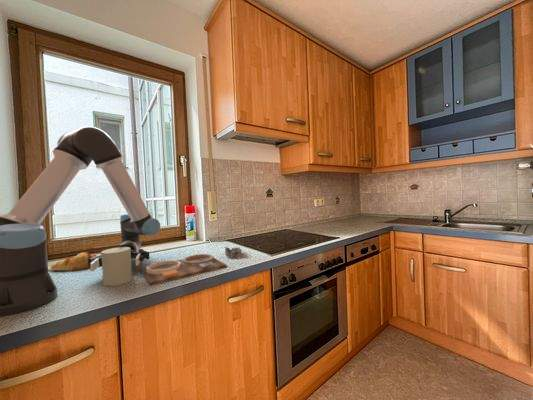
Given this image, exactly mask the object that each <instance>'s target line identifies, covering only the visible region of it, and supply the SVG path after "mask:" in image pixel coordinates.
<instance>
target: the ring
mask: <svg viewBox="0 0 533 400" xmlns="http://www.w3.org/2000/svg"><path fill="white" fill-rule="evenodd" d="M167 264H175V265H176V266H174V267H171V268H167V269H159V270H154V269H151V268H154V267H156V266H160V265H167ZM146 266H147V267H146V272H147V273H149V274H162V276H163V277H164V278H167V277H171V276H176V275H178V271H177V270H178V269H179V268H180V267H181V262H180V261H176V260H174V259H172V260H171V259H167V260H162V261H161V260H160V261H157V262H153V263H151V264H150V263H149V264H148V265H146Z"/></svg>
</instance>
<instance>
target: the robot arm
mask: <svg viewBox="0 0 533 400" xmlns="http://www.w3.org/2000/svg"><path fill="white" fill-rule="evenodd" d="M52 154H53V158H52V159H51V161H50V162H49V163H48V165H46V167H45V168H44V169H43V170H42V172H41V173H40V174H39V175H38V177H37V178H36V179H35V180H34V181H33V183H32V184H31V185H30V186H29V187H28V189H27V190H26V191H25V193H24V194H23V195H22V196H21V197H20V199H19V200H18V201H17V202H16V204H14V205H13V207H12V208H11V210H10V211H9V212H7V213H5V214H0V317H2V316H9V315H13V314H14V315H15V314H17V313H22V312H25V311H29V310H32V309H35V308H37V307H38V308H39V307H40V306H43V305H45V304H47V303H49V302H51V301H53V300H54V299H55V298H57V297H58V287H57V285H56V284H55V282H54V280H53V279H52V276H51V275H50V273H49V265H48V248H47V247H48V246H47V233H46V229H45V227H44V226H43V225H41V223H43V221H44V219H45V218H46V217H47V216H48V214H49V213H50V211H51V210H52V208H53V207H54V206H55V204H56V203H57V202H58V201H59V199H60V198H61V197H62V195H63V193H64V192H65V191H66V189H67V188H68V186H69V185H70V184H71V183H72V181H73V180H74V178H75V177H76V176H77V174H78V173H79V172H80V170H86V169H87V168H88V167H89V166H90V164H91V163H92V162H94V165H96V166H97V167H100V169H101V170H102V172H103V174H104V175H105V177H106V179H107V180H108V182H109V184H110V186H111V187H112V189H113V191H114V193H115V194H116V196H117V198H118V199H119V201H120V203H121V204H122V206H123V207H124V209H125V211H126V212H125V213H122V214H121V215H120V220H119V224H120V233H121V235H120V236H121V237H120V238H121V241H120V242H121V243H120V244H119V246H118V247H130V248H131V260H135V266H139V265H140V263H141V262H143V261H144V260H145V259H146V260H149V259H150V251H147V250H144V249H143V248H141V247H142V241H141V239H140V235H142V236H145V237H146V236H154V235H156V234H158V233H159V231H160V230H161V222H160V221H159V220H158V219H156V218H154V217H152V215H151V213H150V212H149V209H148V208H147V206H146V204H145V203H144V201H143V198H142V196H141V195H140V193H139V191H138V188H137V187H136V185H135V183H134V182H133V180H132V177H131V176H130V174H129V172H128V170H127V168H126V167H125V164H124V163H123V161H122V158H123V154H122V153H121V151H120V149H119V148H118V146H117V144H116V143H115V141H114V140H113V139H112V138H111V136H109V135H108V133H106V132H105V131H104V130H102V129H100V128H98V127H95V126H83V127H80V128H78V129H75V130H71V131H68V132H65V133H62V135H61V136H60V137H59V139H58V140H57V143H56V146H55V148H54V149H53V150H52ZM100 264H101V265H102V256H101V254H98V255H97V256H96V257H93V258H90V259H88V266H90V267H89V268H90V272H94V271H95V270H97V268H99V267H100Z"/></svg>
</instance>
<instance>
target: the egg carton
mask: <svg viewBox="0 0 533 400" xmlns="http://www.w3.org/2000/svg"><path fill="white" fill-rule="evenodd" d="M224 248H225V251H224V254H225V256H226V258H227V259H229V260H232V259H234V258H237V259H239V258H241V257H242V249H241V246H240V247H232V248H231V249H230V247H227V246H224Z"/></svg>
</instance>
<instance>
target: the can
mask: <svg viewBox="0 0 533 400" xmlns="http://www.w3.org/2000/svg"><path fill="white" fill-rule="evenodd" d="M100 255H101V256H102V264H101V267H102V285H103V286H105V287H115V286H120V285H124V284H126V283H129V282H130V281H132V280H133V272H132V259H131V248H130V247H119V246H118V247H112V248H107V249H105V250H104V249H103V250H102V251H100Z"/></svg>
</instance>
